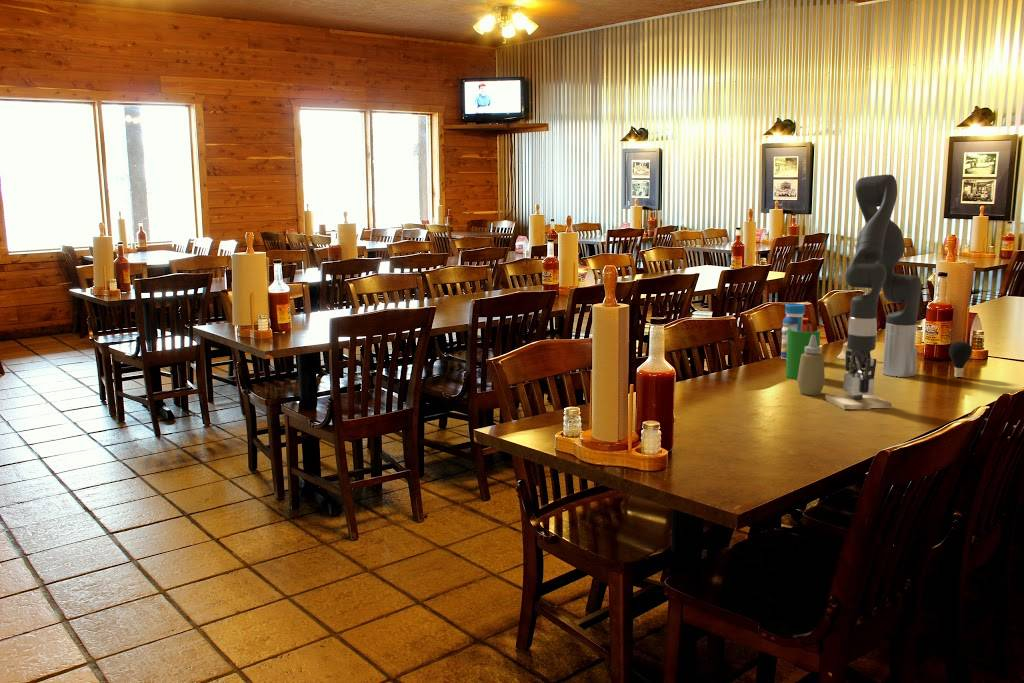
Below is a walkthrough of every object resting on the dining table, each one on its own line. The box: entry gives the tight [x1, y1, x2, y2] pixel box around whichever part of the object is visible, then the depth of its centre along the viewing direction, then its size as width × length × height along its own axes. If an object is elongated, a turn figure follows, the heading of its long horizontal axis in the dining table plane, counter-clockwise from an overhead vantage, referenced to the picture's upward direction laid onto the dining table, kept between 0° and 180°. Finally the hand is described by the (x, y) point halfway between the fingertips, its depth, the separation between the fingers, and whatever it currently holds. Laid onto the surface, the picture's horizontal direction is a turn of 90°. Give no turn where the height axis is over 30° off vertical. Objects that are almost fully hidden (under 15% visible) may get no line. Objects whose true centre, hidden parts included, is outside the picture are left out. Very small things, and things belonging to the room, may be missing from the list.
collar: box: [843, 373, 875, 395], centre depth 256 cm, size 6×6×5 cm
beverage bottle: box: [780, 302, 806, 360], centre depth 319 cm, size 8×8×20 cm
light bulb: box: [948, 340, 973, 378], centre depth 289 cm, size 7×7×12 cm
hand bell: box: [836, 316, 851, 361], centre depth 321 cm, size 8×8×16 cm
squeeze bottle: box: [796, 335, 826, 396], centre depth 268 cm, size 8×8×18 cm
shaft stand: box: [824, 372, 893, 410], centre depth 256 cm, size 14×12×9 cm
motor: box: [785, 317, 821, 380], centre depth 290 cm, size 10×9×20 cm
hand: (858, 389), depth 256 cm, fingers closed on collar, 6 cm apart
